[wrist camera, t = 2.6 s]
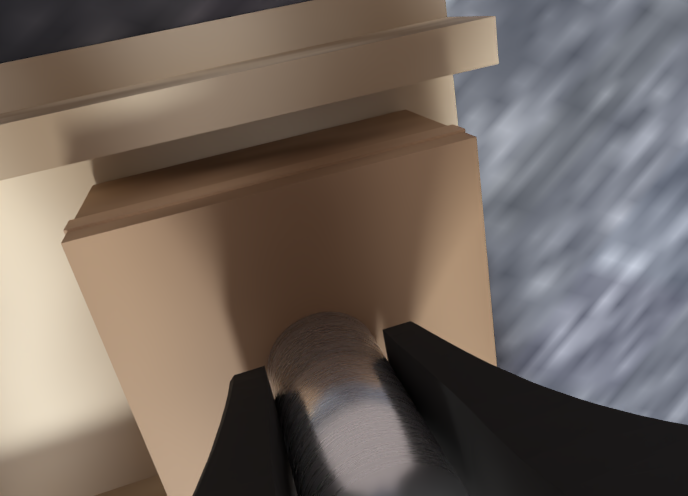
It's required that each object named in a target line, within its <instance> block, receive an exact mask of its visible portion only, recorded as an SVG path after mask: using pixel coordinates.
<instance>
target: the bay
mask: <svg viewBox="0 0 688 496" xmlns="http://www.w3.org/2000/svg"><path fill="white" fill-rule="evenodd" d="M495 64H499V62H498V48H497V33H496V19H495V16H472V17H447V12H446V2H445V0H311V1H307V2H302V3H297V4H292V5H287V6H282V7H277V8H272V9H267V10H262V11H257V12H252V13H247V14H242V15H238V16H233V17H228V18H223V19H218V20H213V21H208V22H203V23H198V24H193V25H188V26H183V27H178V28H173V29H168V30H164V31H159V32H154V33H149V34H144V35H139V36H134V37H129V38H124V39H119V40H114V41H109V42H104V43H99V44H94V45H90V46H85V47H80V48H75V49H70V50H65V51H60V52H55V53H50V54H45V55H40V56H35V57H30V58H25V59H21V60H16V61H11V62H6V63H1V64H0V496H167V493H166V491H165V489H164V486H163V484H162V482H161V479H160V477H159V474H158V472H157V470H156V467H155V465H154V463H153V460H152V458H151V456H150V453H149V451H148V448H147V446H146V444H145V441H144V439H143V437H142V434H141V432H140V430H139V427H138V425H137V422H136V420H135V418H134V415H133V413H132V411H131V408H130V406H129V404H128V401H127V399H126V396H125V394H124V392H123V389H122V387H121V385H120V382H119V380H118V377H117V375H116V373H115V370H114V368H113V366H112V363H111V361H110V359H109V356H108V354H107V351H106V349H105V347H104V344H103V342H102V340H101V337H100V335H99V333H98V330H97V328H96V325H95V323H94V321H93V318H92V316H91V314H90V311H89V309H88V307H87V304H86V302H85V299H84V297H83V295H82V292H81V290H80V288H79V285H78V283H77V281H76V278H75V276H74V273H73V271H72V269H71V266H70V264H69V262H68V259H67V257H66V254H65V252H64V250H63V247H62V245H61V242H62V240H63V239H64V237H65V234H64V231H63V230H64V228H65V226H66V225H67V223H68V221H69V220H72V219H75V217H76V215H77V213H78V211H79V209H80V208H81V206H82V204H83V202H84V200H85V198H86V197H87V195H88V193H89V191H90V189H91V187H92V186H93V185H96V184H100V183H104V182H108V181H112V180H116V179H120V178H124V177H129V176H133V175H137V174H141V173H145V172H149V171H153V170H158V169H162V168H166V167H170V166H174V165H178V164H182V163H186V162H191V161H195V160H199V159H203V158H207V157H211V156H215V155H220V154H224V153H228V152H232V151H236V150H240V149H244V148H248V147H253V146H257V145H261V144H265V143H269V142H273V141H277V140H281V139H286V138H290V137H294V136H298V135H302V134H306V133H310V132H315V131H319V130H323V129H327V128H331V127H335V126H339V125H343V124H348V123H352V122H356V121H360V120H364V119H368V118H372V117H376V116H381V115H385V114H389V113H393V112H397V111H401V110H405V109H406V110H408V111H411V112H413V113H416V114H419V115H421V116H424V117H426V118H429V119H431V120H434V121H436V122H439V123H442V124H444V125H447V126H448V125H452V124H453V125H456V126H458V120H457V110H456V100H455V91H454V81H453V74H457V73H461V72H465V71H470V70H474V69H478V68H482V67H487V66H491V65H495Z"/></svg>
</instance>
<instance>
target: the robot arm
mask: <svg viewBox="0 0 688 496" xmlns="http://www.w3.org/2000/svg"><path fill="white" fill-rule="evenodd" d="M382 331H383V336H384V342H385V347H386V353H387V358H388V362H389V364H390V365H391V367H392V368H393V370H394V372H395V373H396V375H397V377H398V378H399V380H400V382H401V383H402V385H403V387H404V388H405V390H406V392H407V393H408V395H409V396H410V398H411V400H412V401H413V403H414V405H415V406H416V408H417V410H418V411H419V413H420V415H421V416H422V418H423V419H424V421H425V423H426V424H427V426H428V428H429V429H430V431H431V433H432V434H433V436H434V438H435V439H436V441H437V442H438V444H439V446H440V447H441V449H442V451H443V452H444V454H445V456H446V457H447V459H448V461H449V462H450V464H451V466H452V467H453V469H454V470H455V472H456V474H457V475H458V477H459V479H460V480H461V482H462V484H463V485H464V487H465V489H466V490H467V493H468V495H469V496H688V425H684V424H679V423H673V422H668V421H663V420H658V419H654V418H649V417H644V416H640V415H636V414H632V413H628V412H624V411H620V410H617V409H613V408H609V407H605V406H601V405H598V404H594V403H591V402H588V401H584V400H581V399H578V398H575V397H572V396H569V395H566V394H563V393H560V392H558V391H555V390H552V389H549V388H546V387H543V386H541V385H538V384H536V383H533V382H530V381H528V380H526V379H523V378H521V377H519V376H516V375H514V374H512V373H510V372H507V371H505V370H503V369H500V368H498V367H496V366H494V365H492V364H490V363H488V362H486V361H484V360H482V359H480V358H478V357H476V356H474V355H472V354H470V353H468V352H466V351H464V350H462V349H460V348H458V347H457V346H455V345H453V344H451V343H449V342H447V341H446V340H444V339H442V338H440V337H438V336H437V335H435V334H433V333H431V332H430V331H428V330H426V329H424V328H423V327H421V326H419V325H417V324H415V323H414V322H412V321H409V322H406V323H402V324H399V325H396V326H393V327H389V328H386V329H383V330H382ZM192 496H298V495H297V491H296V487H295V483H294V479H293V475H292V471H291V467H290V463H289V459H288V455H287V450H286V446H285V442H284V437H283V432H282V428H281V424H280V420H279V416H278V412H277V408H276V404H275V400H274V396H273V393H272V389H271V386H270V383H269V379H268V376H267V372H266V369H265V366H262V367H259V368H256V369H253V370H249V371H246V372H243V373H240V374H236V375H234V376H233V378H232V379H231V381H230V384H229V390H228V395H227V400H226V404H225V408H224V411H223V415H222V418H221V422H220V425H219V428H218V431H217V434H216V437H215V440H214V443H213V446H212V449H211V452H210V454H209V457H208V460H207V462H206V464H205V467H204V469H203V472H202V474H201V476H200V479H199V481H198V484H197V486H196V488H195V491H194V493H193V495H192Z"/></svg>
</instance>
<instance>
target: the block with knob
mask: <svg viewBox="0 0 688 496" xmlns="http://www.w3.org/2000/svg"><path fill="white" fill-rule="evenodd" d="M63 231H64V234H65V237H64V239H63V240H62V242H61V245H62V247H63V250H64V252H65V254H66V257H67V259H68V262H69V264H70V266H71V269H72V271H73V273H74V276H75V278H76V281H77V283H78V285H79V288H80V290H81V292H82V295H83V297H84V299H85V302H86V304H87V307H88V309H89V311H90V314H91V316H92V318H93V321H94V323H95V325H96V328H97V330H98V333H99V335H100V337H101V340H102V342H103V344H104V347H105V349H106V351H107V354H108V356H109V359H110V361H111V363H112V366H113V368H114V370H115V373H116V375H117V377H118V380H119V382H120V385H121V387H122V389H123V392H124V394H125V396H126V399H127V401H128V404H129V406H130V408H131V411H132V413H133V415H134V418H135V420H136V422H137V425H138V427H139V430H140V432H141V434H142V437H143V439H144V441H145V444H146V446H147V448H148V451H149V453H150V456H151V458H152V460H153V463H154V465H155V467H156V470H157V472H158V474H159V477H160V479H161V482H162V484H163V486H164V489H165V491H166V493H167V496H192V495H193V493H194V491H195V488H196V486H197V484H198V481H199V479H200V476H201V474H202V472H203V469H204V467H205V464H206V462H207V460H208V457H209V454H210V452H211V449H212V446H213V443H214V440H215V437H216V434H217V431H218V428H219V425H220V422H221V418H222V415H223V411H224V408H225V404H226V400H227V395H228V390H229V384H230V381H231V379H232V378H233V376H234V375H236V374H240V373H243V372H246V371H249V370H253V369H256V368H259V367H262V366H265V369H266V372H267V376H268V379H269V383H270V386H271V389H272V393H273V396H274V400H275V404H276V408H277V412H278V416H279V420H280V424H281V428H282V432H283V437H284V442H285V446H286V450H287V455H288V459H289V463H290V467H291V471H292V475H293V479H294V483H295V487H296V491H297V495H298V496H469V495H468V493H467V490H466V489H465V487H464V485H463V484H462V482H461V480H460V479H459V477H458V475H457V474H456V472H455V470H454V469H453V467H452V466H451V464H450V462H449V461H448V459H447V457H446V456H445V454H444V452H443V451H442V449H441V447H440V446H439V444H438V442H437V441H436V439H435V438H434V436H433V434H432V433H431V431H430V429H429V428H428V426H427V424H426V423H425V421H424V419H423V418H422V416H421V415H420V413H419V411H418V410H417V408H416V406H415V405H414V403H413V401H412V400H411V398H410V396H409V395H408V393H407V392H406V390H405V388H404V387H403V385H402V383H401V382H400V380H399V378H398V377H397V375H396V373H395V372H394V370H393V368H392V367H391V365H390V364H389V362H388V358H387V353H386V347H385V342H384V336H383V331H382V330H383V329H386V328H389V327H393V326H396V325H399V324H402V323H406V322H409V321H412V322H414V323H415V324H417V325H419V326H421V327H423V328H424V329H426V330H428V331H430V332H431V333H433V334H435V335H437V336H438V337H440V338H442V339H444V340H446V341H447V342H449V343H451V344H453V345H455V346H457V347H458V348H460V349H462V350H464V351H466V352H468V353H470V354H472V355H474V356H476V357H478V358H480V359H482V360H484V361H486V362H488V363H490V364H492V365H494V366H496V367H497V362H496V351H495V340H494V329H493V318H492V307H491V295H490V284H489V273H488V262H487V251H486V239H485V228H484V217H483V206H482V195H481V184H480V172H479V161H478V150H477V139H476V137H475V136H472V135H470V134H467V133H465V129H464V128H461V127H459V126H456V125H453V124H452V125H448V126H447V125H444V124H442V123H439V122H436V121H434V120H431V119H429V118H426V117H424V116H421V115H419V114H416V113H413V112H411V111H408V110H406V109H405V110H401V111H397V112H393V113H389V114H385V115H381V116H376V117H372V118H368V119H364V120H360V121H356V122H352V123H348V124H343V125H339V126H335V127H331V128H327V129H323V130H319V131H315V132H310V133H306V134H302V135H298V136H294V137H290V138H286V139H281V140H277V141H273V142H269V143H265V144H261V145H257V146H253V147H248V148H244V149H240V150H236V151H232V152H228V153H224V154H220V155H215V156H211V157H207V158H203V159H199V160H195V161H191V162H186V163H182V164H178V165H174V166H170V167H166V168H162V169H158V170H153V171H149V172H145V173H141V174H137V175H133V176H129V177H124V178H120V179H116V180H112V181H108V182H104V183H100V184H96V185H93V186H92V187H91V189H90V191H89V193H88V195H87V197H86V198H85V200H84V202H83V204H82V206H81V208H80V209H79V211H78V213H77V215H76V217H75V219H72V220H69V221H68V223H67V225H66V226H65V228H64V230H63Z"/></svg>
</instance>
